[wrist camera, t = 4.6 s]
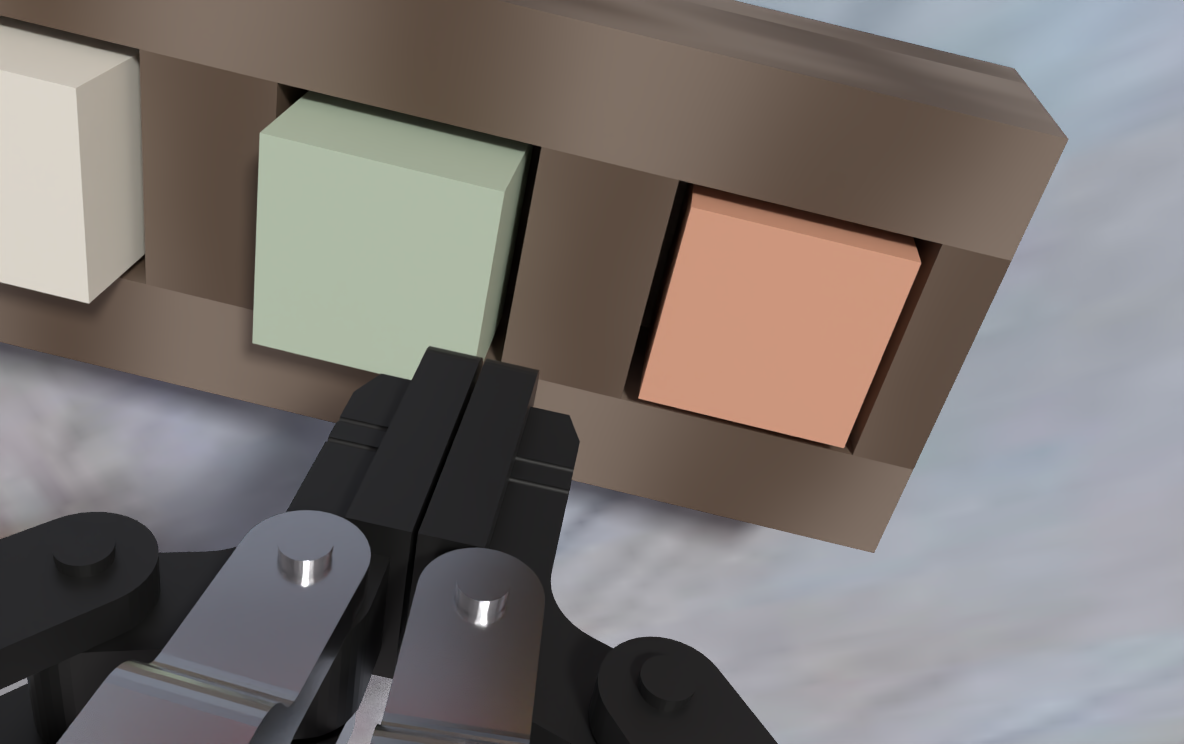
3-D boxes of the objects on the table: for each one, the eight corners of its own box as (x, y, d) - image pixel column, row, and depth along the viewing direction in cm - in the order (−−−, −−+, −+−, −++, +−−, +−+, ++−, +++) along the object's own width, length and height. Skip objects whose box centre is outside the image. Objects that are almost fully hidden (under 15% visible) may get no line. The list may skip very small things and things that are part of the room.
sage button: (310, 269, 22) (252, 343, 19) (323, 78, 19) (260, 132, 17) (501, 315, 22) (469, 395, 19) (535, 130, 19) (504, 192, 17)
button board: (-11, 230, 25) (-130, 310, 22) (-60, -193, 20) (-222, -175, 17) (856, 440, 25) (873, 553, 22) (1014, 68, 20) (1068, 139, 17)
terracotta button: (650, 322, 23) (638, 398, 20) (697, 146, 20) (690, 207, 18) (832, 366, 23) (843, 448, 20) (899, 195, 20) (921, 262, 18)
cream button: (-26, 188, 22) (-130, 251, 19) (-51, -13, 19) (-171, 28, 17) (166, 234, 22) (89, 303, 19) (163, 39, 19) (75, 87, 17)
